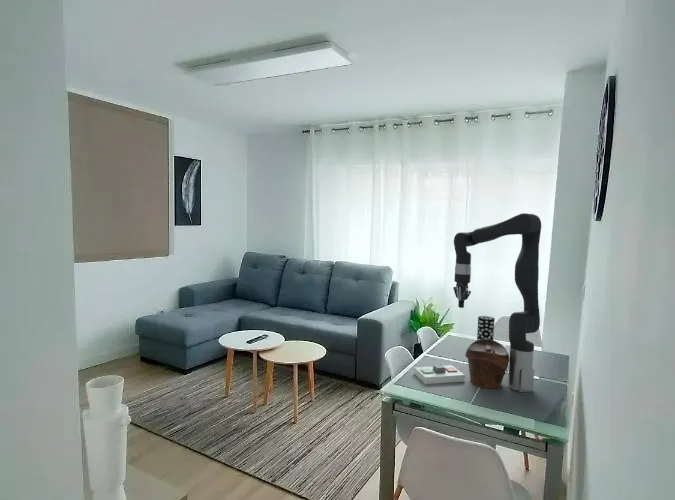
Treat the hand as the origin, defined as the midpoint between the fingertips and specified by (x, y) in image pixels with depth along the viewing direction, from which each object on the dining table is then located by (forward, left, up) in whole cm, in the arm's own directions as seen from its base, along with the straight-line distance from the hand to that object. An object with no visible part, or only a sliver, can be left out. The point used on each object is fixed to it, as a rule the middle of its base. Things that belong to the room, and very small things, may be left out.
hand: (460, 307), depth 194 cm
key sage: (-14, +24, -27) cm, 39 cm away
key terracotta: (-14, +12, -27) cm, 33 cm away
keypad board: (-14, +18, -29) cm, 37 cm away
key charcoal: (-14, +18, -26) cm, 34 cm away
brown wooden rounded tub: (-23, 0, -29) cm, 37 cm away
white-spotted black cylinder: (+13, -23, -29) cm, 40 cm away
